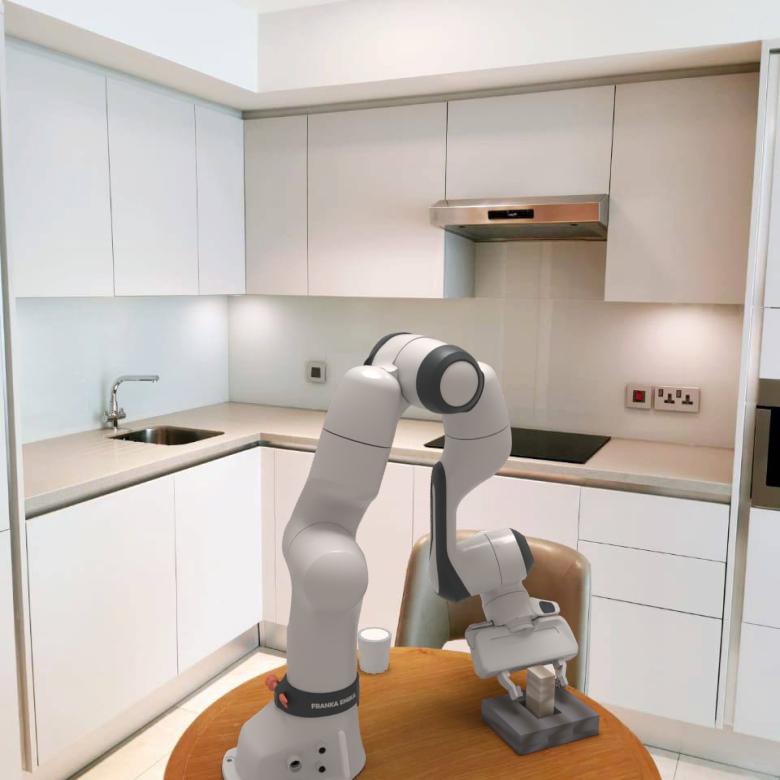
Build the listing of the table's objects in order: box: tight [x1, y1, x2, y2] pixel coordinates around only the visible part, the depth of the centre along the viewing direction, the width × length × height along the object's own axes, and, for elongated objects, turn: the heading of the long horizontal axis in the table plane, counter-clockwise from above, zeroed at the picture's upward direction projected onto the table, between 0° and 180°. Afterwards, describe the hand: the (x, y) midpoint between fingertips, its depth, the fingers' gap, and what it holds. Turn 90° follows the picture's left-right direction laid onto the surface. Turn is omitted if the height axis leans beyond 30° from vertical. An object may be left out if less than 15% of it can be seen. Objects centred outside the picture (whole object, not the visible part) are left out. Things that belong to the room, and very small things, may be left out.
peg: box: [525, 665, 556, 719], centre depth 135 cm, size 3×4×9 cm
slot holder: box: [480, 684, 601, 756], centre depth 135 cm, size 16×12×4 cm
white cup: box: [357, 626, 393, 675], centre depth 155 cm, size 7×7×7 cm
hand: (540, 693), depth 134 cm, fingers open, 8 cm apart
